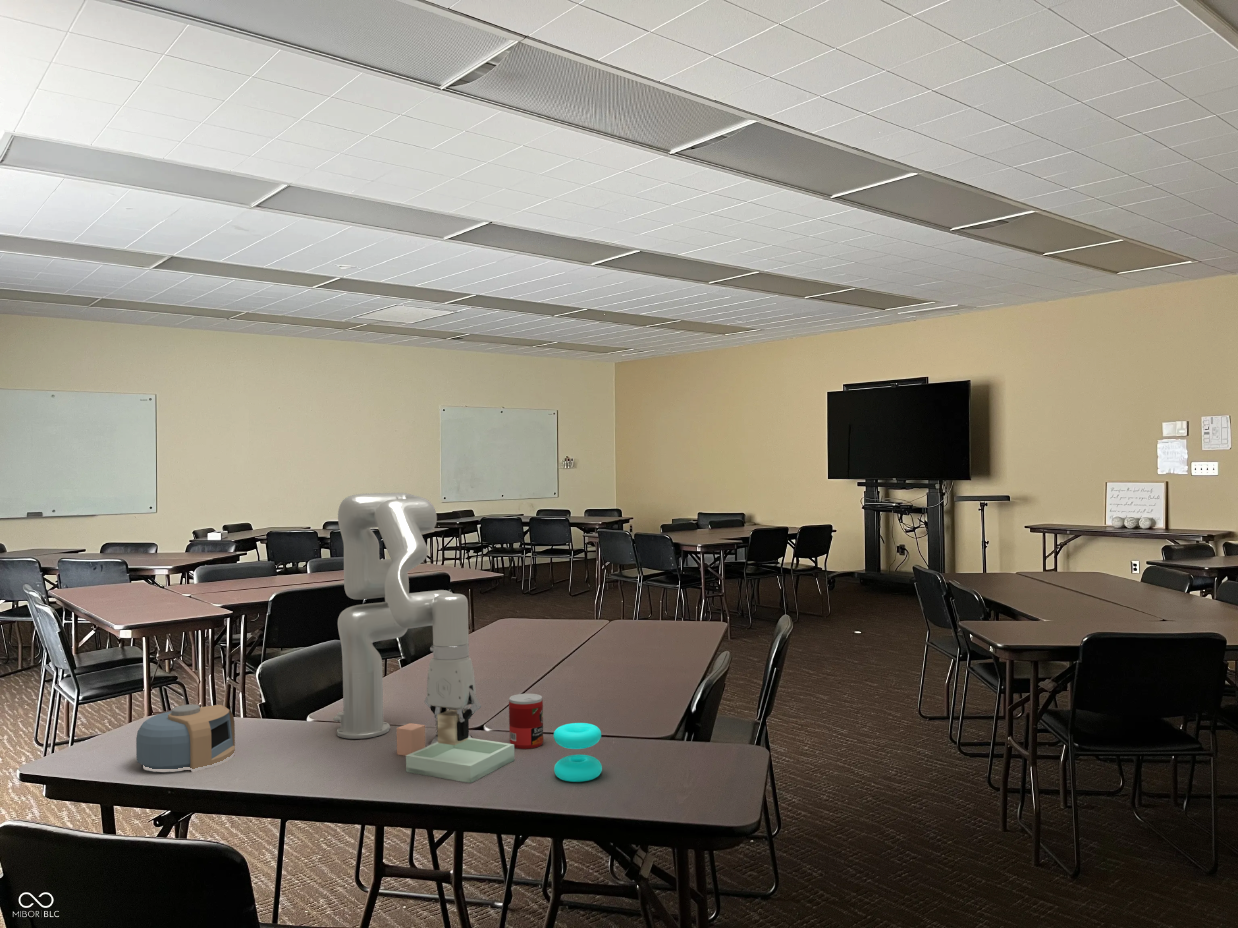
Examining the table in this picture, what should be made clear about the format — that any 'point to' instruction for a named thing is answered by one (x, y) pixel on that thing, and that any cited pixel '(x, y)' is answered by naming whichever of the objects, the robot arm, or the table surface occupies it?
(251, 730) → the table surface
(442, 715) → the birch block
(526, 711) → the canned food
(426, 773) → the tray
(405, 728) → the terracotta block
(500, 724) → the table surface
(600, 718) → the table surface
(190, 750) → the alarm clock
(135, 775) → the table surface
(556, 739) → the donuts
